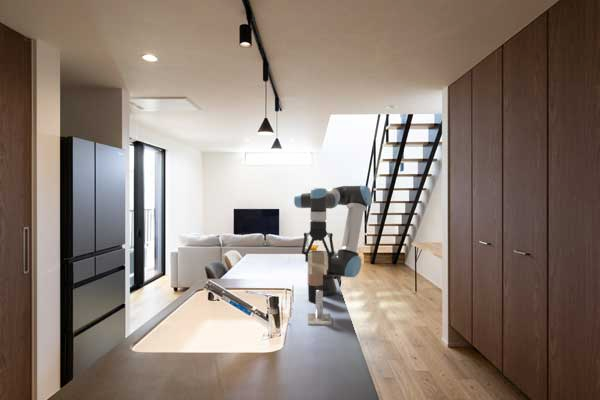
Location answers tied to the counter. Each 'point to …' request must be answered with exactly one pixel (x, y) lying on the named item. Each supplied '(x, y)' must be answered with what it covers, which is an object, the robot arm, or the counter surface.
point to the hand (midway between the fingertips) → (317, 269)
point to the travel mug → (314, 285)
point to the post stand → (319, 312)
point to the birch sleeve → (317, 262)
